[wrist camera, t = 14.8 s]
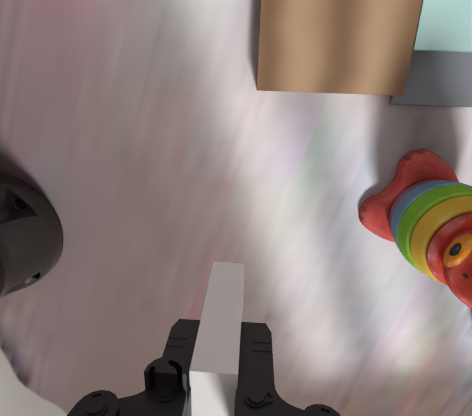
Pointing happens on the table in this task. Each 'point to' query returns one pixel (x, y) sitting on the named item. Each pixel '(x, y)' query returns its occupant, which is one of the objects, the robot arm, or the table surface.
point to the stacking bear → (427, 220)
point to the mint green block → (444, 26)
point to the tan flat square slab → (336, 45)
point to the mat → (438, 79)
